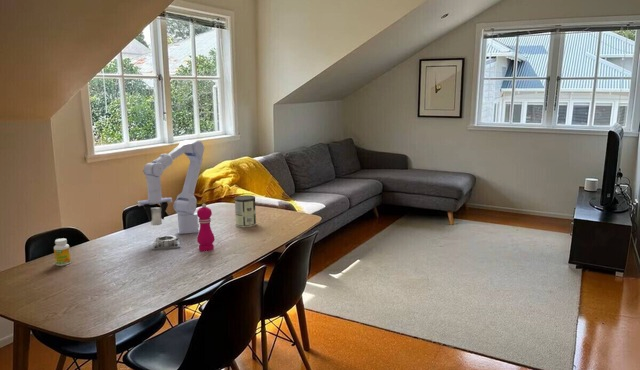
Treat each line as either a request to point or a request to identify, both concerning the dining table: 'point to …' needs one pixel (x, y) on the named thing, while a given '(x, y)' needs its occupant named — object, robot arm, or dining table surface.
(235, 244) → the dining table surface
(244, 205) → the coffee can
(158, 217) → the white knob
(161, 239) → the flange
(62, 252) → the supplement bottle
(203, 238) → the pepper mill
